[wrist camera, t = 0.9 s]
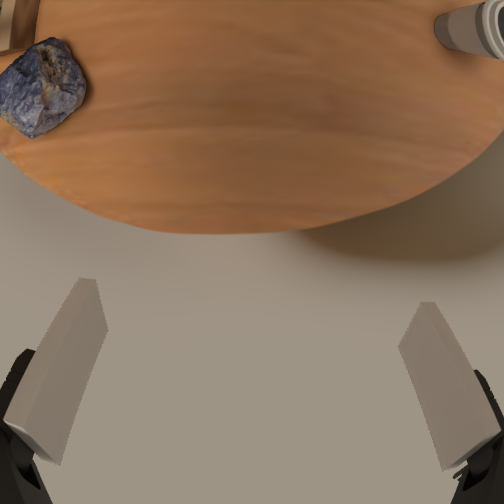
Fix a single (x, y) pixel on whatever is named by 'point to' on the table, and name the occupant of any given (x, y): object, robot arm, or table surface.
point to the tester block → (17, 25)
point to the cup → (474, 29)
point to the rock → (41, 88)
